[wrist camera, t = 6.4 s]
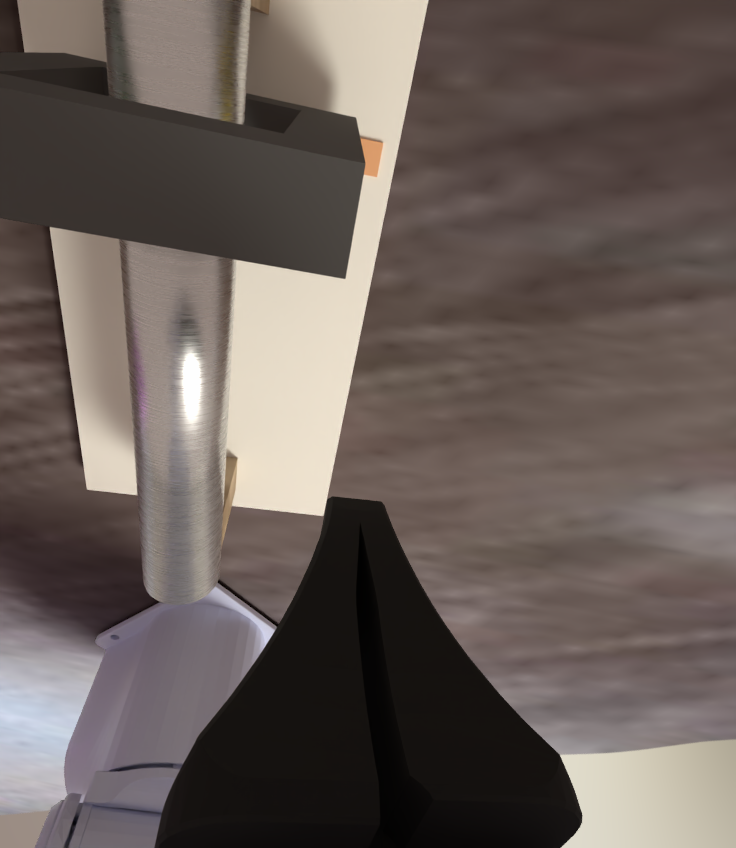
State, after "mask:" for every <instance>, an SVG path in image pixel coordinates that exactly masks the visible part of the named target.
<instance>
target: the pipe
mask: <svg viewBox="0 0 736 848" xmlns="http://www.w3.org/2000/svg"><path fill="white" fill-rule="evenodd" d="M102 6H103V20H104V34H105V48H106V62H107V76H108V90H109V96H110V97H114V98H119V99H124V100H128V101H133V102H138V103H142V104H147V105H152V106H157V107H161V108H166V109H171V110H175V111H180V112H185V113H189V114H194V115H199V116H203V117H208V118H213V119H218V120H222V121H227V122H232V123H236V124H241V125H244V119H245V100H246V82H247V64H248V45H249V27H250V8H251V0H102ZM119 245H120V259H121V273H122V287H123V301H124V315H125V329H126V343H127V357H128V371H129V385H130V399H131V413H132V427H133V441H134V455H135V469H136V483H137V498H138V512H139V526H140V540H141V554H142V568H143V582H144V586H145V589H146V591H147V592H148V593H149V594H150V596H151V597H153V598H154V599H156V600H157V601H159V602H162V603H165V604H170V605H185V604H189V603H193V602H196V601H198V600H200V599H202V598H204V597H205V596H207V595H208V594H209V593H210V592H211V591H212V590H213V589H214V587H215V586H216V584H217V582H218V580H219V576H220V561H221V543H222V524H223V506H224V487H225V469H226V451H227V432H228V414H229V395H230V377H231V358H232V340H233V322H234V303H235V285H236V266H237V260H234V259H228V258H223V257H217V256H212V255H206V254H200V253H195V252H189V251H183V250H178V249H172V248H166V247H161V246H155V245H149V244H144V243H138V242H133V241H127V240H121V239H119Z"/></svg>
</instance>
